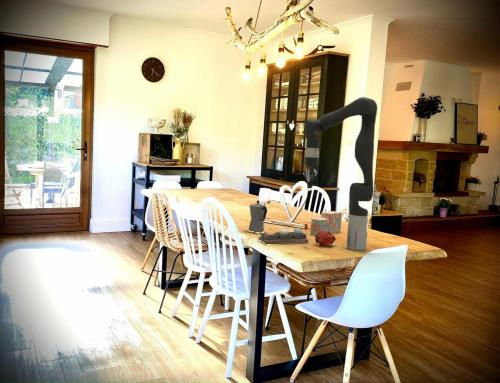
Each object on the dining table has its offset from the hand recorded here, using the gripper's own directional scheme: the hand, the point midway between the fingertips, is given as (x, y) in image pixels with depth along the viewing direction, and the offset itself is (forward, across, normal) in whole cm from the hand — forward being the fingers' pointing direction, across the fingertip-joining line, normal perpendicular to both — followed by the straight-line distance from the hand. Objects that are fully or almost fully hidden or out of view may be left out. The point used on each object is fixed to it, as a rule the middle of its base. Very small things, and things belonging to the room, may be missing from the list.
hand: (309, 188), depth 254 cm
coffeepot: (+27, +14, +24) cm, 39 cm away
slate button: (+23, -11, +11) cm, 28 cm away
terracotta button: (+25, -11, +27) cm, 39 cm away
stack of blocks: (+27, +7, -16) cm, 33 cm away
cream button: (+23, -11, +20) cm, 33 cm away
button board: (+27, -11, +20) cm, 35 cm away
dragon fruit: (+27, -22, +1) cm, 35 cm away
